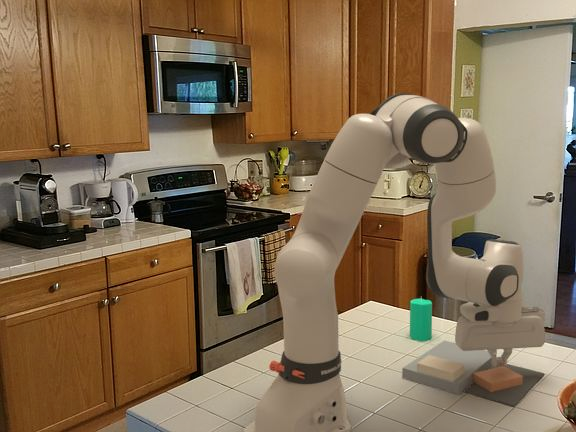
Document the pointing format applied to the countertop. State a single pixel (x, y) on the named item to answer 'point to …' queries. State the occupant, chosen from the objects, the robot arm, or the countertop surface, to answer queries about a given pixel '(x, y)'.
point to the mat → (509, 394)
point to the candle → (421, 319)
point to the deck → (452, 352)
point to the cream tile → (441, 368)
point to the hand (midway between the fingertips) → (499, 365)
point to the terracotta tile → (497, 378)
